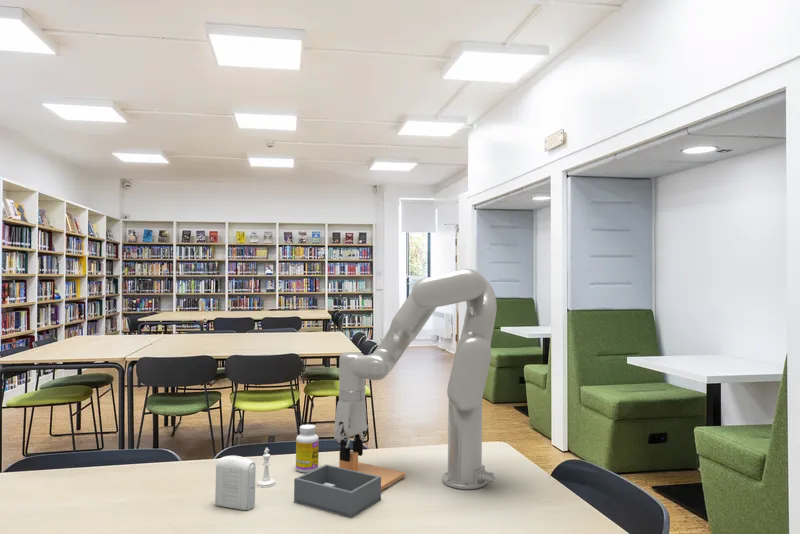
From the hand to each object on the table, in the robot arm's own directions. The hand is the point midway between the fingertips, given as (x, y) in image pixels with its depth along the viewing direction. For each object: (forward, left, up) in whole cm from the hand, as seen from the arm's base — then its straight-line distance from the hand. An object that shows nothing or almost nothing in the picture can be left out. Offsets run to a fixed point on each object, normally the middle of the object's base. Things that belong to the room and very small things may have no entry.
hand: (351, 457), depth 165 cm
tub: (-8, +17, -5) cm, 20 cm away
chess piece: (+16, +18, -5) cm, 25 cm away
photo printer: (+12, +33, -5) cm, 36 cm away
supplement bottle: (+14, +3, -5) cm, 15 cm away
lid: (-5, 0, -5) cm, 7 cm away
